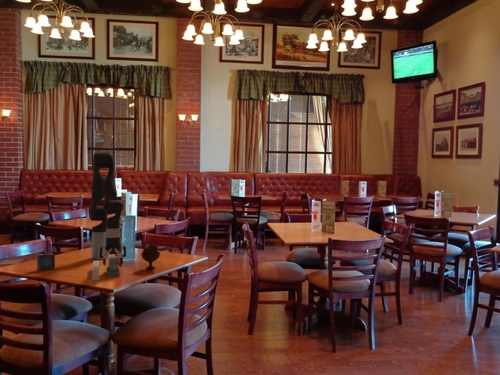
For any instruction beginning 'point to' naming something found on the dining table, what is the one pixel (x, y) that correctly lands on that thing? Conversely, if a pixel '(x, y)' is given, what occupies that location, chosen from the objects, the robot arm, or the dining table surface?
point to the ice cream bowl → (150, 255)
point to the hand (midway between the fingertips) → (112, 264)
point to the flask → (46, 261)
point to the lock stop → (113, 264)
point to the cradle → (111, 274)
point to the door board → (95, 270)
